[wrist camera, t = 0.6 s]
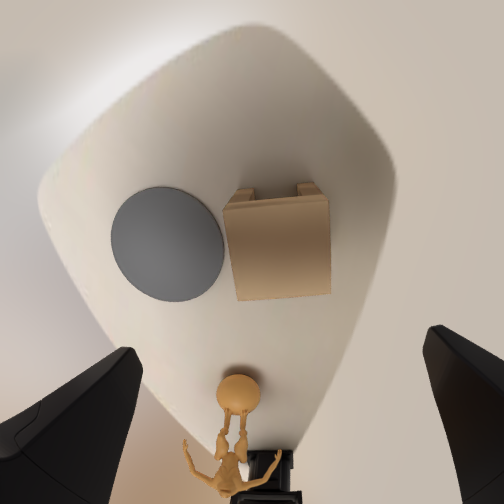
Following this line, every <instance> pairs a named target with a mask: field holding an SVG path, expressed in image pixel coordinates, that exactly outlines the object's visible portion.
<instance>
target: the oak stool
mask: <svg viewBox="0 0 504 504" xmlns="http://www.w3.org/2000/svg"><path fill="white" fill-rule="evenodd" d="M297 192H298V196H296V197H285V198H274V199H264V200H255V193H254V188H248V189H239V190H237V191H236V192H235V194H234V195H233V196H232V198H231V199H230V201H229V202H228V204H227V205H226V206H225V208H224V209H223V217H224V223H225V229H226V235H227V241H228V247H229V253H230V259H231V265H232V271H233V277H234V282H235V288H236V294H237V299H238V301H249V300H264V299H278V298H290V297H302V296H313V295H323V294H331V242H330V214H329V200H328V199H327V198H326V197H325V195H324V194H323V193H322V192H321V191H320V189H319V188H318V187H317V186H316V185H315V184H314V182H312V183H299V184H297Z"/></svg>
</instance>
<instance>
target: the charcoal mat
mask: <svg viewBox="0 0 504 504" xmlns="http://www.w3.org/2000/svg"><path fill="white" fill-rule="evenodd" d="M111 245H112V251H113V255H114V258H115V260H116V263H117V265H118V267H119V268H120V270H121V272H122V273H123V275H124V276H125V277H126V278H127V280H128V281H129V282H130V283H131V284H132V285H133V286H135V287H136V288H137V289H138V290H140V291H141V292H143V293H144V294H146V295H148V296H150V297H153V298H155V299H158V300H162V301H168V302H182V301H187V300H191V299H193V298H196V297H198V296H200V295H202V294H203V293H204V292H206V291H207V290H208V289H209V288H210V287H211V286H212V285H213V283H214V282H215V280H216V279H217V277H218V275H219V273H220V270H221V267H222V264H223V258H224V245H223V239H222V235H221V232H220V229H219V227H218V224H217V223H216V221H215V219H214V217H213V216H212V215H211V213H210V212H209V211H208V210H207V208H206V207H205V206H204V205H203V204H202V203H200V202H199V201H198V200H197V199H195V198H194V197H192V196H191V195H189V194H187V193H185V192H183V191H180V190H176V189H172V188H166V187H157V188H150V189H146V190H143V191H141V192H139V193H137V194H135V195H133V196H132V197H130V198H129V199H128V200H127V201H126V202H124V204H123V205H122V206H121V207H120V209H119V210H118V212H117V214H116V216H115V218H114V221H113V225H112V230H111Z"/></svg>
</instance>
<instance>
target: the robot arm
mask: <svg viewBox="0 0 504 504" xmlns="http://www.w3.org/2000/svg"><path fill="white" fill-rule="evenodd" d="M423 357H424V360H425V364H426V367H427V371H428V375H429V379H430V383H431V387H432V391H433V395H434V398H435V401H436V404H437V407H438V410H439V413H440V416H441V419H442V422H443V425H444V429H445V432H446V435H447V439H448V442H449V446H450V449H451V453H452V457H453V461H454V465H455V469H456V473H457V478H458V482H459V487H460V492H461V497H462V502H463V504H504V361H503V360H502V359H500V358H498V357H497V356H495V355H493V354H492V353H490V352H488V351H486V350H485V349H483V348H481V347H480V346H478V345H476V344H474V343H473V342H471V341H469V340H467V339H466V338H464V337H462V336H460V335H459V334H457V333H455V332H454V331H452V330H450V329H448V328H446V327H445V326H443V325H436V326H431V327H430V328H429V329H428V331H427V335H426V339H425V342H424V345H423ZM142 374H143V367H142V364H141V362H140V360H139V358H138V356H137V354H136V351H135V350H134V349H133V348H132V347H120V348H118V349H117V350H115V351H114V352H112V353H111V354H110V355H108V356H106V357H105V358H103V359H102V360H101V361H99V362H98V363H96V364H94V365H93V366H91V367H90V368H88V369H87V370H85V371H84V372H82V373H81V374H79V375H78V376H76V377H75V378H73V379H72V380H70V381H69V382H68V383H66V384H64V385H63V386H61V387H60V388H58V389H57V390H55V391H54V392H52V393H51V394H49V395H47V396H46V397H44V398H43V399H42V400H40V401H38V402H37V403H35V404H34V405H32V406H31V407H29V408H27V409H26V410H24V411H23V412H21V413H19V414H17V415H16V416H14V417H12V418H10V419H8V420H6V421H4V422H2V423H1V424H0V504H108V503H109V499H110V496H111V491H112V487H113V484H114V480H115V476H116V472H117V469H118V465H119V462H120V458H121V455H122V451H123V448H124V444H125V441H126V438H127V434H128V431H129V428H130V425H131V421H132V418H133V415H134V411H135V407H136V402H137V398H138V392H139V388H140V383H141V379H142ZM279 452H280V451H279ZM275 454H276V456H277V454H278V451H247V462H248V465H249V467H250V468H249V477H248V481H252V480H256V479H261V478H263V477H264V475H265V473H266V472H267V471H268V469H269V467H270V466H271V464H272V463H273V462H274V461H275V460H276V458H275ZM290 469H293V451H282V454H281V458H280V461H279V462H278V464H277V466H276V468H275V469H274V471H273V472H272V473H271V475H270V477H269V479H268V481H267V482H265V483H263V484H261V485H258V486H255V487H251V488H249V489H247V491H246V490H244V491H239V492H237V493H236V494H235V495H232V496H231V500H230V504H302V491H292V492H291V491H290Z"/></svg>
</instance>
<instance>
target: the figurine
mask: <svg viewBox="0 0 504 504" xmlns="http://www.w3.org/2000/svg"><path fill="white" fill-rule="evenodd" d="M216 396H217V401H218V403H219V405H220V407H221V408H222V409H223V410H224V412H225V421H224V428H222V429H221V430H220V433H219V434H218V437H217V441H216V453H215V456H214V458H215V459H216V460H220V459H222V464H221V466H220V468H219V470H218V471H217V473H216V474H215V477H214V478H210V477H208V476H206V475H204V474H202V473H200V472H198V471H196V470H195V468H194V464H193V462H192V459H191V456H190V455H189V453H188V452H187V447H188V445H187V446H186V440H185V439H184V440H183V451H184V454H185V458H186V460H187V462H188V465H189V469H190V472H191V473H192V474H193V475H194V476H195V477H197V478H198V479H200V480H202V481H203V482H205V483H206V484H207V485H209V486H210V487H213V488H214V489H216V490H217V491H218V492H219V494H220V495H221V497H223V498H228V497H230V496H232V495H235V494H236V493H237V492H239V491H244V490H247V489H249V488H251V487H255V486H258V485H261V484H263V483H265V482H267V481H268V479H269V477H270V475H271V473H272V472H273V471H274V469H275V468H276V466H277V464H278V462H279V461H280V458H281V454H282V450H281V449H280V452H279V449H278V454H277V456H276V454H275V458H276V460H275V461H274V462H273V463H272V464H271V466H270V467H269V469H268V471H267V472H266V473H265V475H264V477H263V478H261V479H256V480H252V481H248V482H243V481H242V479H241V476H240V473H239V472H240V471H239V468H238V461H239V460H240V462H241V463H245V462H246V461H247V448H248V441H247V431H246V430H245V426H246V417H247V414H248V413H250V412H251V411H253V410H254V409H255V408H256V407H257V405H258V403H259V401H260V390H259V387H258V385H257V383H256V382H255V381H254V380H253V379H252V378H250V377H248V376H246V375H242V374H235V375H231V376H228V377H226V378H225V379H224V380H222V381H221V383H220V384H219V386H218V388H217V393H216ZM231 415H240V417H241V419H240V432H239V435H240V436H241V437H240V439H239V441H238V442H237V443H236V444H235V447H234V451H235V453H233V452H228V449H229V443H228V442H227V440H226V439H225V435H227V434H228V432H229V431H228V429H229V425H230V418H231Z"/></svg>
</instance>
